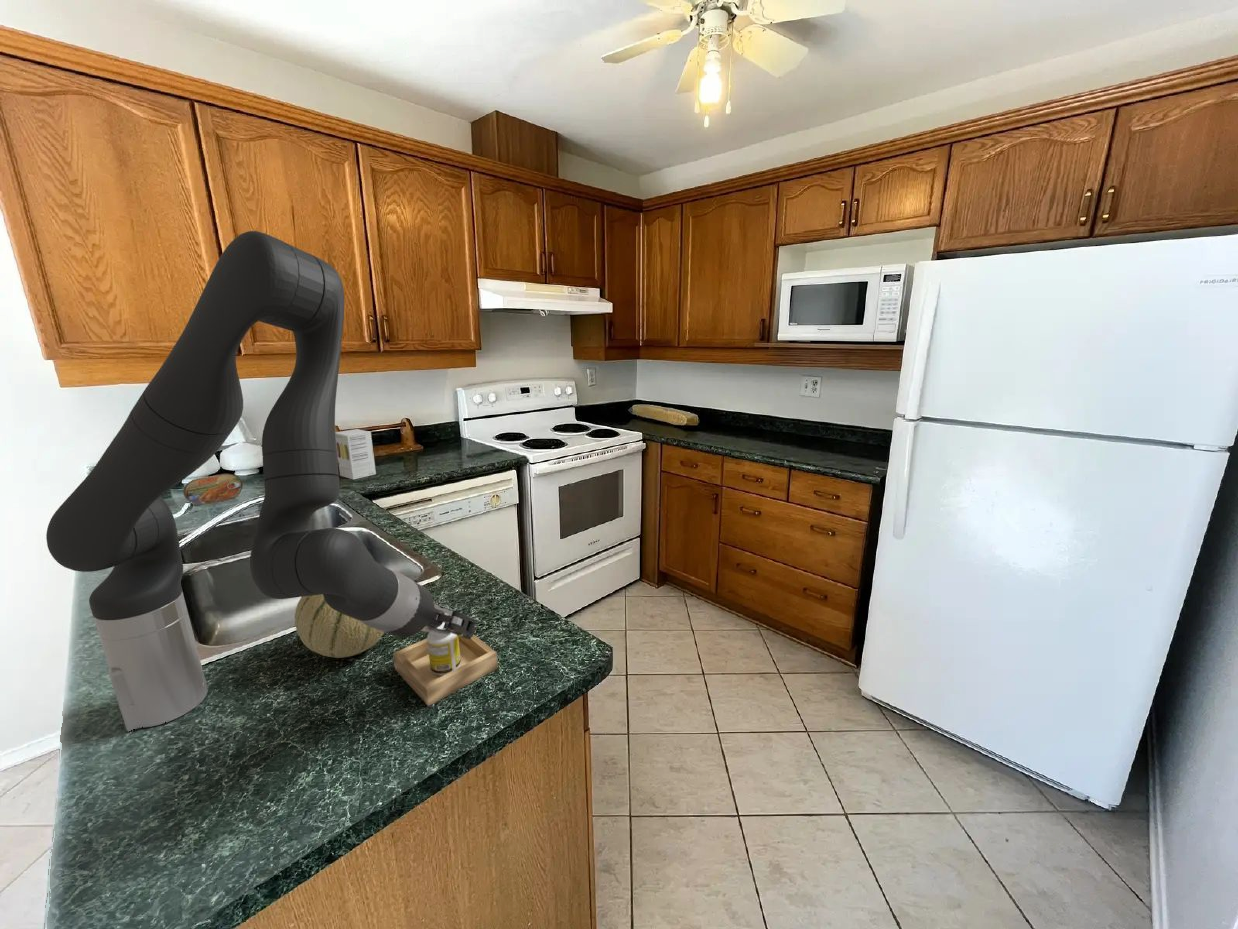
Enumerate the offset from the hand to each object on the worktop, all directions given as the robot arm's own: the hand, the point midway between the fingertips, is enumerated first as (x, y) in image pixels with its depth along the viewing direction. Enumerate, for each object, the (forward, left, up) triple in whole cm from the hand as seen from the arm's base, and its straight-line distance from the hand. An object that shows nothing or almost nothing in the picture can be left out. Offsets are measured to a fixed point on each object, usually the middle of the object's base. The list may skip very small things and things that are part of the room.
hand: (447, 629), depth 82 cm
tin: (-13, +130, -7) cm, 131 cm away
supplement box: (+30, +128, -7) cm, 132 cm away
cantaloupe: (-10, +16, -7) cm, 20 cm away
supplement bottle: (-1, -1, -6) cm, 7 cm away
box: (-1, -1, -7) cm, 7 cm away
